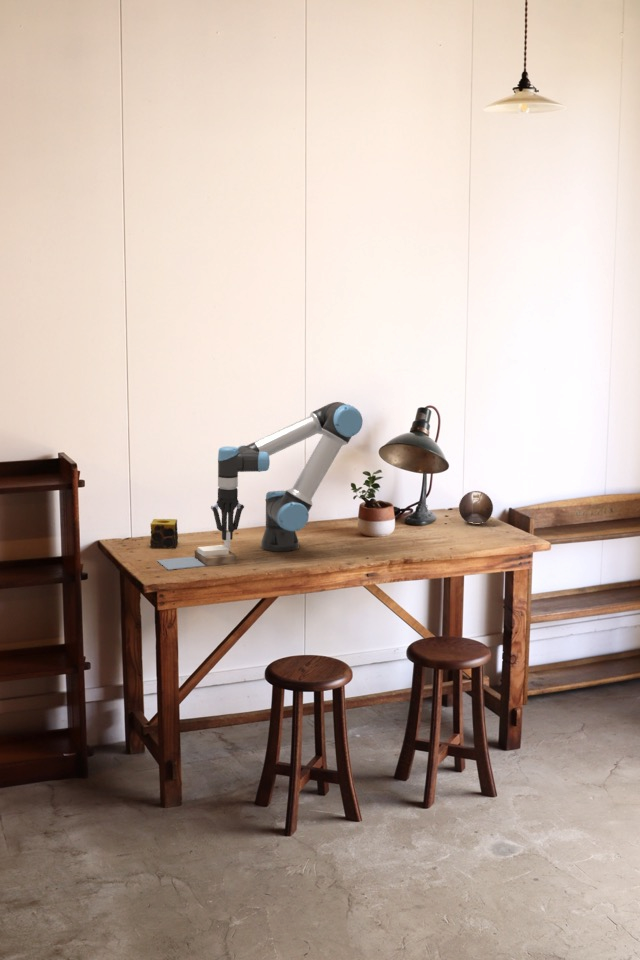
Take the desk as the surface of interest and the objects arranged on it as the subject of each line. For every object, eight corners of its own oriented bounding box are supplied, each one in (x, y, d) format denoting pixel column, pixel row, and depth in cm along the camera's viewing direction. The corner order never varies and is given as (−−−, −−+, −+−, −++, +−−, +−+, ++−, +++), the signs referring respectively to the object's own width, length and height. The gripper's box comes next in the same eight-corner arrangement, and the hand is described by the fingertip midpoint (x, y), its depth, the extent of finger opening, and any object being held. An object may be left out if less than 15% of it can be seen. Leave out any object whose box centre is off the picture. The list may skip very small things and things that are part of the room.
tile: (222, 549, 409) (222, 544, 409) (228, 554, 403) (228, 548, 403) (197, 552, 405) (197, 547, 405) (203, 556, 399) (203, 551, 398)
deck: (224, 554, 414) (224, 547, 413) (236, 563, 401) (236, 555, 401) (194, 557, 409) (194, 550, 408) (206, 566, 396) (206, 558, 396)
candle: (175, 548, 422) (175, 524, 420) (150, 548, 422) (149, 524, 420) (178, 542, 432) (178, 518, 430) (153, 542, 432) (153, 518, 430)
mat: (193, 557, 408) (193, 556, 408) (205, 566, 396) (205, 565, 396) (157, 561, 402) (157, 560, 402) (168, 570, 390) (168, 569, 390)
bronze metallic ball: (462, 528, 467) (463, 494, 464) (455, 520, 481) (456, 488, 479) (495, 527, 468) (497, 494, 465) (487, 520, 483) (489, 488, 480)
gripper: (240, 484, 408) (239, 544, 412) (208, 486, 403) (207, 547, 407) (247, 488, 402) (246, 549, 406) (214, 490, 396) (214, 551, 400)
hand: (227, 548), depth 406 cm, fingers closed
